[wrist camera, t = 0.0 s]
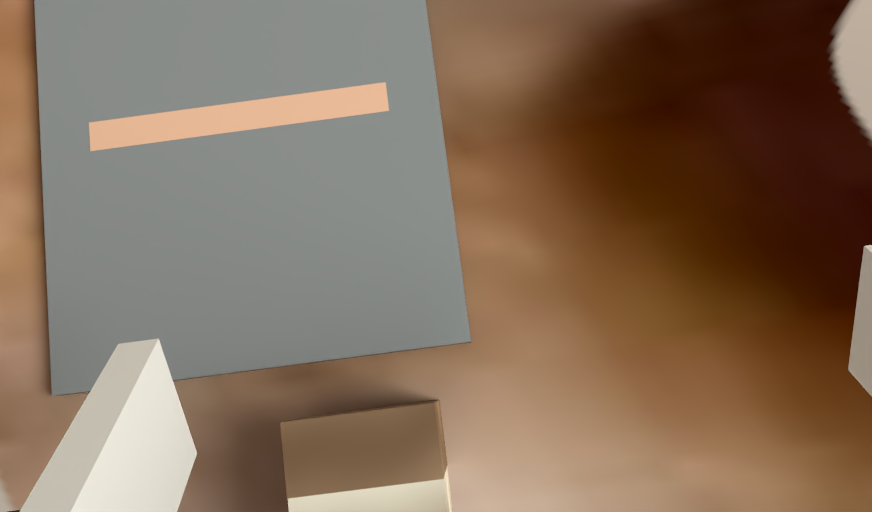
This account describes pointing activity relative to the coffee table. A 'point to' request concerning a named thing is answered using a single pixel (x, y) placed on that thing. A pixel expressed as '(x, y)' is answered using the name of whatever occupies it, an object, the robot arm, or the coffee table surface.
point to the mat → (243, 184)
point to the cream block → (367, 461)
